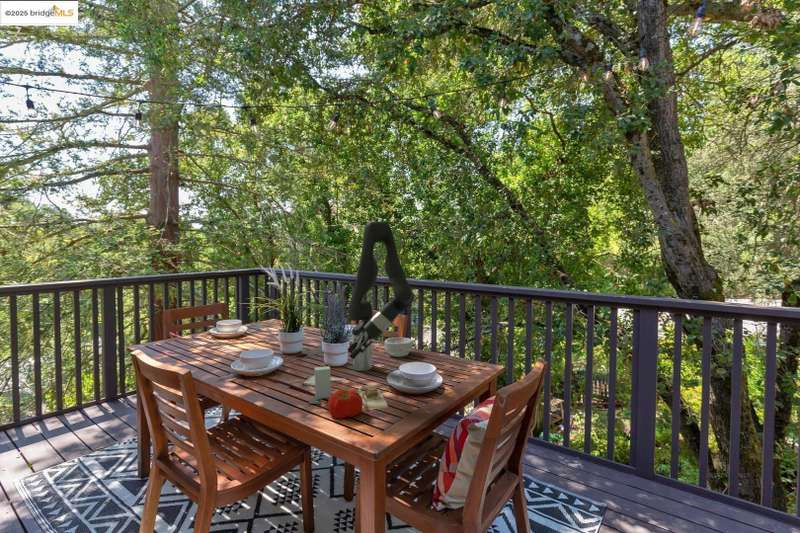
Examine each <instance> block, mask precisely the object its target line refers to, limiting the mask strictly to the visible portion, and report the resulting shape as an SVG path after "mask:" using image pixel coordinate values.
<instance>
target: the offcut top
mask: <svg viewBox="0 0 800 533" xmlns="http://www.w3.org/2000/svg"><path fill="white" fill-rule="evenodd" d="M363 388H364V390H365V391H366V392H368V393H369V394H371V393H376V392H377V390H378V388H377V386H375V385H373V384H368V385H364V386H363ZM364 390H363V391H364Z"/></svg>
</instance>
